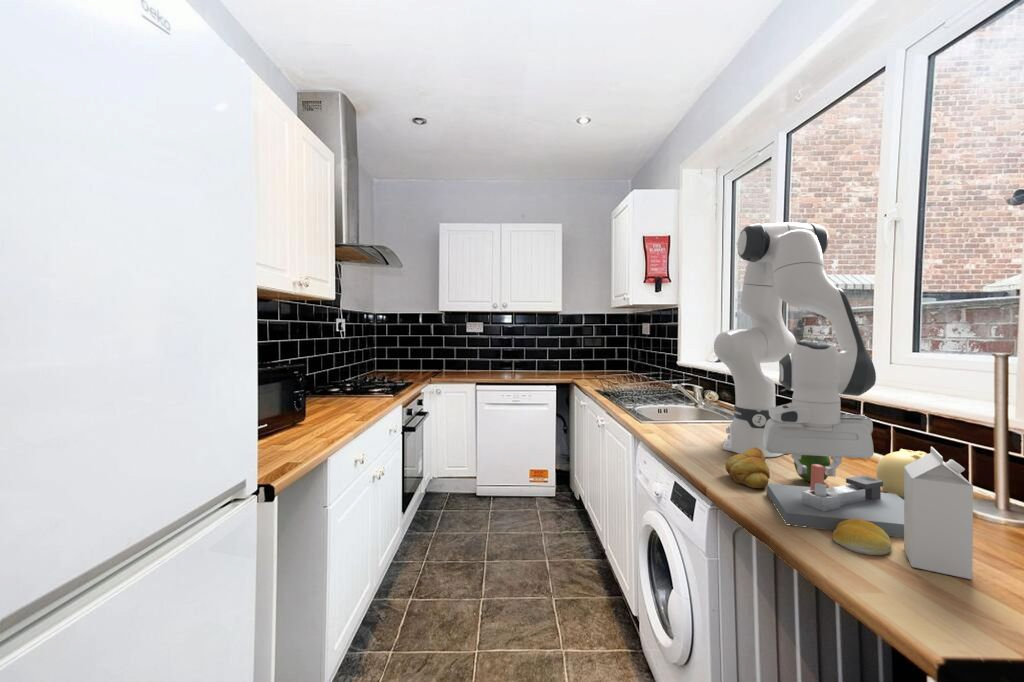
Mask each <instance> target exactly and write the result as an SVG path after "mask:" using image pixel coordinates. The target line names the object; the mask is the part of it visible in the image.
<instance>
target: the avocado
mask: <svg viewBox="0 0 1024 682" xmlns="http://www.w3.org/2000/svg"><path fill="white" fill-rule="evenodd" d="M798 460H799V462H800V463H801V465H805V466H806V467H807V471H806V472H807V475H805V474H799V473H798V472H797V464H796V463H795V461H794V460H793V464H794V468H795V471H796V473H797V474H798V476H799V477H800V478H801V479H802V480H804V481H806V482H810V483H811V465H812V464H818V465H822V466H824V467H825V466H829V465H830V464H831V458H830V456H813V455H801V459H798ZM828 477H829V476H827V475H825V469H824V481H826V480H827V478H828Z"/></svg>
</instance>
